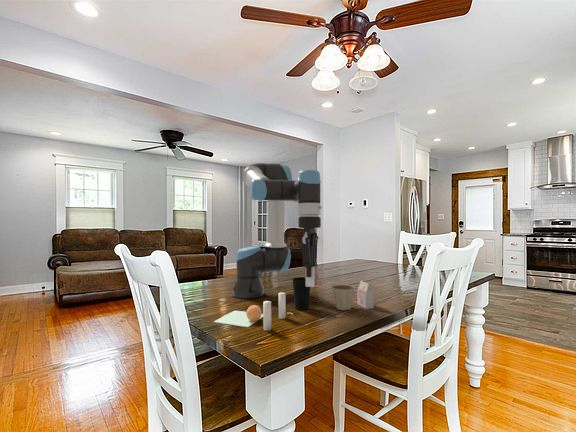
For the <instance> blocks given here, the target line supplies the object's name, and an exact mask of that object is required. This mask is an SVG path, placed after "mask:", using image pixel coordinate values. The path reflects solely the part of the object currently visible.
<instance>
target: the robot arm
mask: <svg viewBox="0 0 576 432" xmlns="http://www.w3.org/2000/svg"><path fill="white" fill-rule="evenodd" d="M241 179H242V182H243V183H244V184H245V186H247V187H249V197H250V199H251V200H252V201H259V202H260V201H261V202H262V201H267V225H266V226H267V229H266V231H267V234H266V241H267V242H266V243H265V244H264V245H263V248H261V247H260V246H258V245H255V246H247V247H243V248H239V249H238V250H237V251H236V259H235V261H236V281H235V283H234V287H233V290H232V296H233V297H235V298H238V299H255V298H259V297H263V295H264V294H265V288H264V285H263V283H262V280H261V273H274V272H277V273H280V272H285V271H287V270H288V269H289V268H290V264H291V258H292V254H291V249H290V248H288V245H287V244H286V243H285V219H286V218H285V217H286V216H285V211H286V209H285V207H286V206H285V205H286V203H285V202H286V201H287V202H295V203H298V205H297V206H298V207H297V208H298V209H297V210H298V212H297V213H298V214H297V215H298V216H299V217H298V219H297V221H298V225H297V226H298V228H300V229H302V228H303V230H302V231H303V233H302V237H300V239H299V241H300V244H301V246H300V247H301V255H302V256H301V257H302V268H305V270H304V271H305V277H306V287H310V288H314V287H315V285H316V284H315V279H316V277H315V275H316V274H315V273H316V272H315V267H317V266H318V264H317V261H318V260H317V255H318V242H319V236H318V235H317V231H316V230H317V229H319V228H321V227H322V226H321V225H322V223H321V222H322V221H321V220H322V219H321V216H320V215H321V210H322V209H323V206H322V205H321V183H322V181H321V174H320V171H318V170H317V169H303V170H302V169H301V170H300V171H298V174H297V180H293V175H292V171H291V169H290V167H289V165H287V164H282V163H262V162H258V163H253V164H249V165H248V166H246V167H245V168H244V169H243V170H242V173H241Z"/></svg>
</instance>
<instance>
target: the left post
mask: <svg viewBox="0 0 576 432" xmlns="http://www.w3.org/2000/svg"><path fill="white" fill-rule="evenodd" d="M262 303H263V305H262V307H263V309H262V311H263V313H262V314H263V317H262V320H263V321H262V322H263V323H262V324H263V327H262V328H263V331H266V332H267V331H269V332H270V331H271V330H272V301H271V300H270V301H269V300H265V301H263V302H262Z"/></svg>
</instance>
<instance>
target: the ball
mask: <svg viewBox="0 0 576 432" xmlns="http://www.w3.org/2000/svg"><path fill="white" fill-rule="evenodd" d="M262 311H263V310H262V309H261V307H260V306H259V305H256V304H254V305H250V306H249V307H248V308H247V309H246V311H245V312H246V315H247V318H248V319H249V320H251V321H256V322H258V321H259V320H261V319H260V317H261V315H262V314H263V313H262ZM257 320H258V321H257Z"/></svg>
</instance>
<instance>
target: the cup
mask: <svg viewBox="0 0 576 432" xmlns="http://www.w3.org/2000/svg"><path fill="white" fill-rule="evenodd" d="M291 281H292V290H293V300H294V308H295V310H296V311H308V310H309V306H310V298H311V297H310V296H311V287H306V276H302V277H301V276H300V277H292V279H291Z"/></svg>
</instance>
